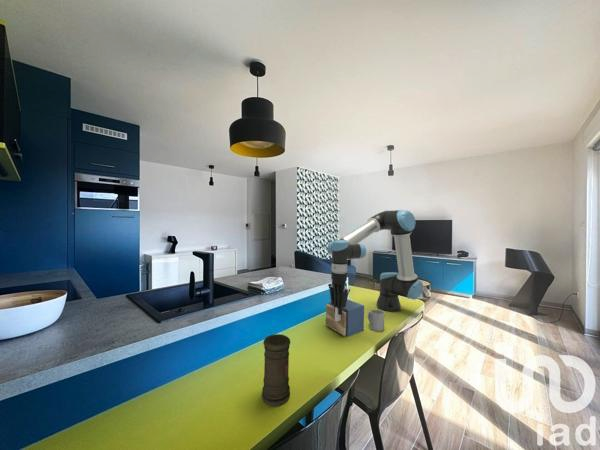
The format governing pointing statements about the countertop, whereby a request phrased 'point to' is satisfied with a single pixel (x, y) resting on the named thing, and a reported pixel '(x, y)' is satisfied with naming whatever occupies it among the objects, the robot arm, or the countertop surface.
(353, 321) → the cabinet
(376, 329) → the cup
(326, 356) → the countertop surface
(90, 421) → the countertop surface
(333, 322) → the door
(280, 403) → the container
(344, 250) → the robot arm
